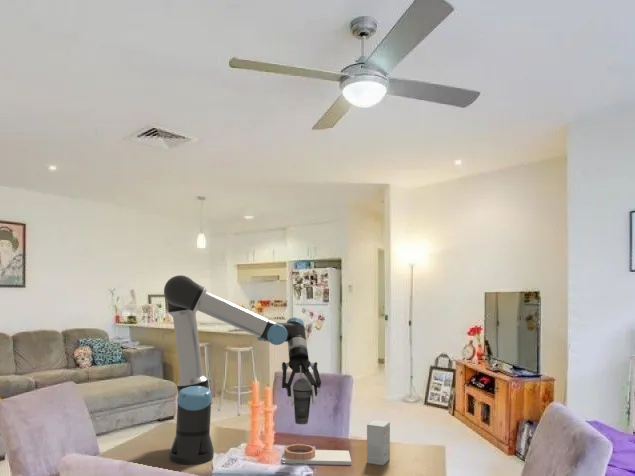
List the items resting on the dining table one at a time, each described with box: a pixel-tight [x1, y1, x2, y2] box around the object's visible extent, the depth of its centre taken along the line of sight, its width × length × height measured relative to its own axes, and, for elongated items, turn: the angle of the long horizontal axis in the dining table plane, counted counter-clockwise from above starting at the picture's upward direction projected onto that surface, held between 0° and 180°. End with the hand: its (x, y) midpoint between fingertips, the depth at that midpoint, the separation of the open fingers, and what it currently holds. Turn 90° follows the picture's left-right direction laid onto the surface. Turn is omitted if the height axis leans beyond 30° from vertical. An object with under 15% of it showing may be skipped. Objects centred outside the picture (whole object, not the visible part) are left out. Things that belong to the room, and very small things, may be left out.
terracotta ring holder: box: [283, 443, 316, 460], centre depth 173 cm, size 11×11×2 cm
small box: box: [366, 419, 391, 466], centre depth 173 cm, size 8×6×13 cm
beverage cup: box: [292, 366, 312, 425], centre depth 176 cm, size 7×7×20 cm
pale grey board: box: [281, 449, 352, 466], centre depth 173 cm, size 24×12×1 cm, turn 90°
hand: (303, 403), depth 172 cm, fingers closed on beverage cup, 7 cm apart
